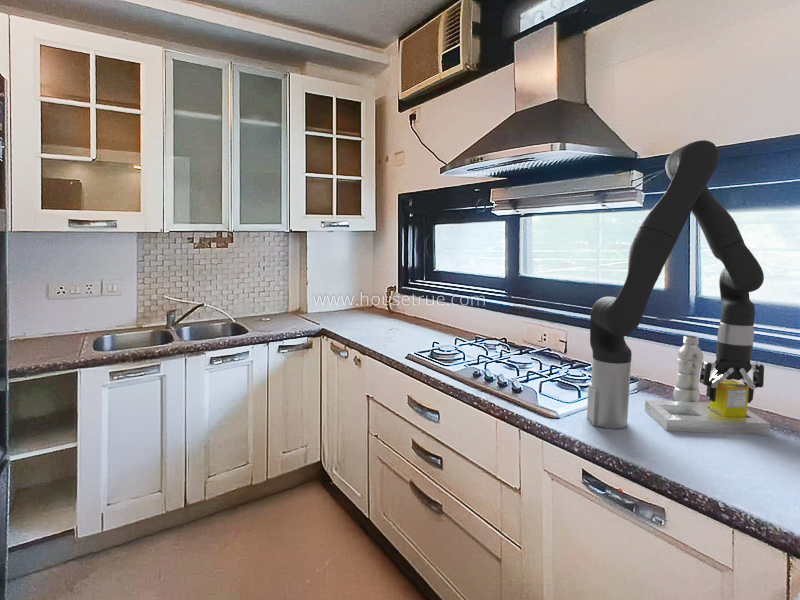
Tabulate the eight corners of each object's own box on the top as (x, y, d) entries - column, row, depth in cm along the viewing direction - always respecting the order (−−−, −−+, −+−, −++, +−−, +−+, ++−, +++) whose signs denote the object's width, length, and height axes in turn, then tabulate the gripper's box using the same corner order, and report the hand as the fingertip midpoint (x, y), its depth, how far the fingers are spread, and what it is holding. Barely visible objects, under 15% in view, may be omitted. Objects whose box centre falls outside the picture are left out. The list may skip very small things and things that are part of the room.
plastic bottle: (668, 399, 143) (673, 334, 140) (692, 400, 142) (698, 334, 139) (678, 407, 136) (683, 339, 134) (703, 408, 135) (709, 339, 133)
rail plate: (666, 430, 120) (667, 419, 120) (644, 410, 134) (645, 400, 133) (768, 435, 117) (770, 423, 117) (736, 413, 131) (737, 403, 131)
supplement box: (729, 418, 128) (733, 379, 126) (746, 427, 122) (750, 386, 120) (707, 418, 128) (711, 379, 126) (723, 427, 122) (727, 386, 120)
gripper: (713, 343, 119) (707, 405, 121) (774, 344, 117) (767, 407, 119) (698, 337, 126) (693, 395, 128) (755, 338, 125) (749, 397, 127)
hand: (729, 401), depth 124 cm, fingers open, 8 cm apart
